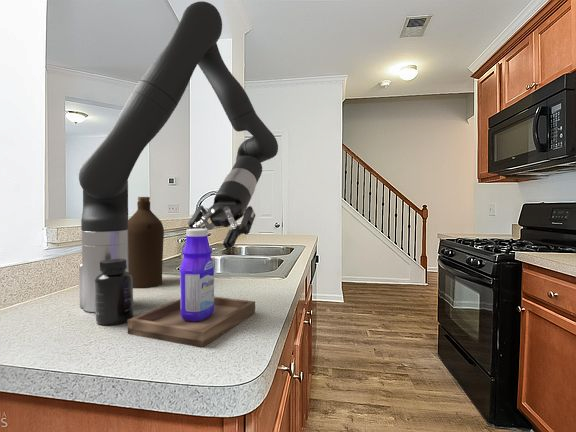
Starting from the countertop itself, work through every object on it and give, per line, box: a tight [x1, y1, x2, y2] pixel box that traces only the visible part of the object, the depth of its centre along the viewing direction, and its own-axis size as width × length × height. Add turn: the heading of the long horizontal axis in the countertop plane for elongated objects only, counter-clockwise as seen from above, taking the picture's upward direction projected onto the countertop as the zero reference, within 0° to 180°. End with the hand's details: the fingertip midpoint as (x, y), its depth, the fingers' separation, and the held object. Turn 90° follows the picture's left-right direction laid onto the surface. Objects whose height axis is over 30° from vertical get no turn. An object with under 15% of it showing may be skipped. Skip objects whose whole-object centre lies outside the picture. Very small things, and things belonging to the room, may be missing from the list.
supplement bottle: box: [94, 259, 135, 326], centre depth 69 cm, size 7×7×12 cm
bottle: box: [179, 228, 215, 322], centre depth 68 cm, size 7×6×17 cm
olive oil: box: [128, 196, 165, 289], centre depth 99 cm, size 11×11×25 cm
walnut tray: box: [127, 296, 256, 348], centre depth 69 cm, size 16×19×2 cm
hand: (208, 245), depth 72 cm, fingers open, 8 cm apart
